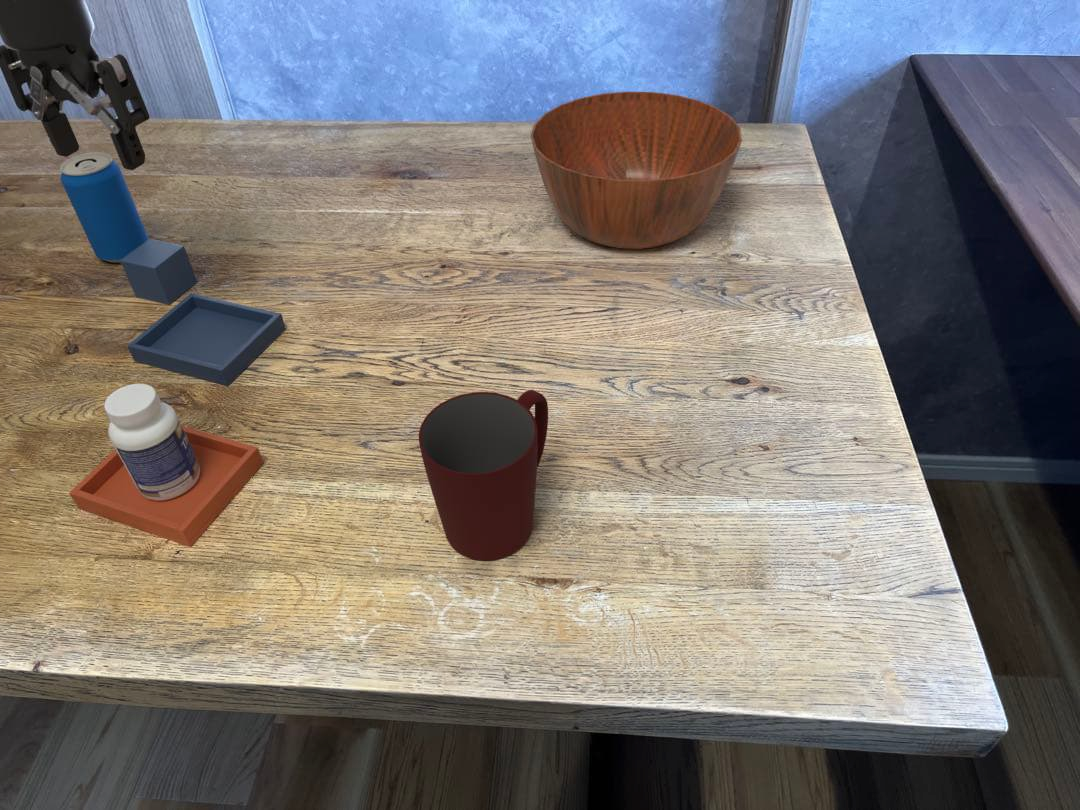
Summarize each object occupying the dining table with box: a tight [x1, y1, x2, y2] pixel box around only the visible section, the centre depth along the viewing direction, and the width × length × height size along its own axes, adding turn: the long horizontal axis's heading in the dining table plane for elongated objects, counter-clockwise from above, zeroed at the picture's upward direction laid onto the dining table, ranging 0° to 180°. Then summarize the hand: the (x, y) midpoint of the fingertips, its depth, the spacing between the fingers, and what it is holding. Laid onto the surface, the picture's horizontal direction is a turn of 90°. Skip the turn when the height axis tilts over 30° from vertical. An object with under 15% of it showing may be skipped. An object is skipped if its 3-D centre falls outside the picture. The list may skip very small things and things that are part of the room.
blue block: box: [120, 238, 198, 306], centre depth 95 cm, size 5×5×5 cm
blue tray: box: [126, 292, 287, 387], centre depth 87 cm, size 12×10×2 cm
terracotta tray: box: [68, 424, 264, 548], centre depth 72 cm, size 12×10×2 cm
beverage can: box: [59, 151, 150, 264], centre depth 99 cm, size 6×6×12 cm
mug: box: [418, 389, 549, 561], centre depth 66 cm, size 12×9×11 cm
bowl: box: [530, 91, 743, 250], centre depth 101 cm, size 25×25×11 cm
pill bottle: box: [103, 383, 200, 501], centre depth 69 cm, size 5×5×10 cm
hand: (102, 159), depth 80 cm, fingers open, 8 cm apart
